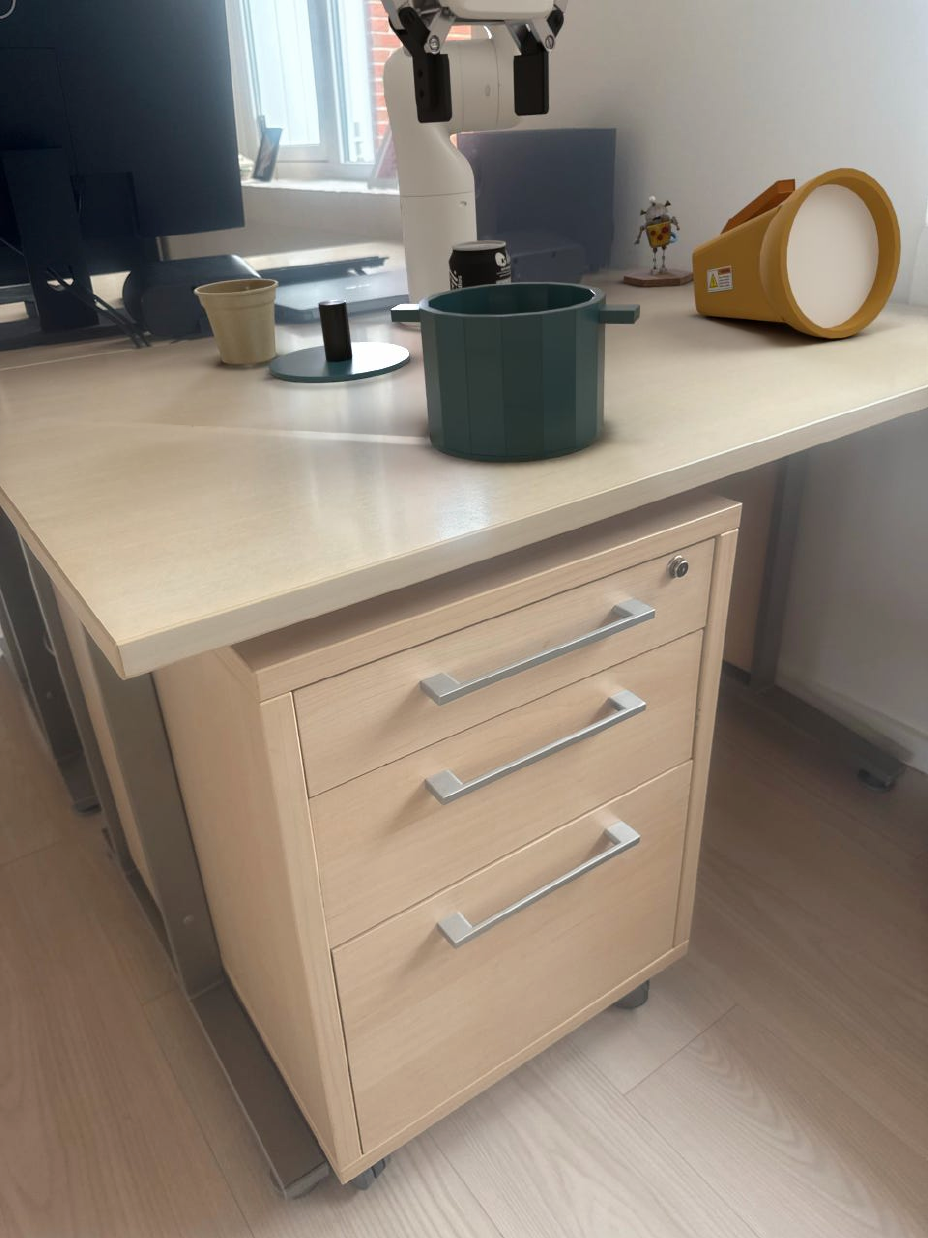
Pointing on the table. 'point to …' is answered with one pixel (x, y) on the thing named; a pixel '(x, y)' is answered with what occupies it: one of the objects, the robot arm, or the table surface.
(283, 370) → the lid
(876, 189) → the flared yellow plastic housing
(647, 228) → the robot figurine
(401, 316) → the pot
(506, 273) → the beverage can
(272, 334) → the flower pot
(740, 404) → the table surface
